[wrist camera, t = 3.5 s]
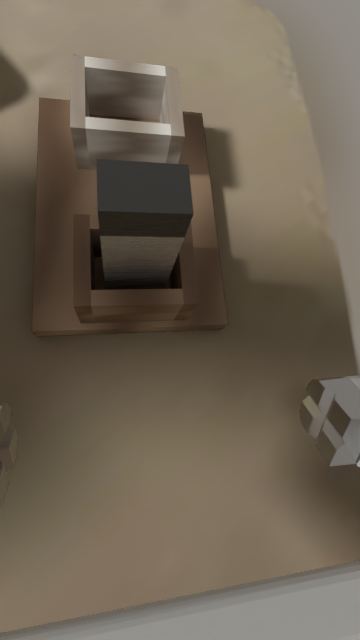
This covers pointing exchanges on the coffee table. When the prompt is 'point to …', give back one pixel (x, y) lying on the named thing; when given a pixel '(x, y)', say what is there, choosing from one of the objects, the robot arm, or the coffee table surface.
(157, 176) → the brushed metal bar
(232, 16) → the coffee table surface
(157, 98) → the caddy
